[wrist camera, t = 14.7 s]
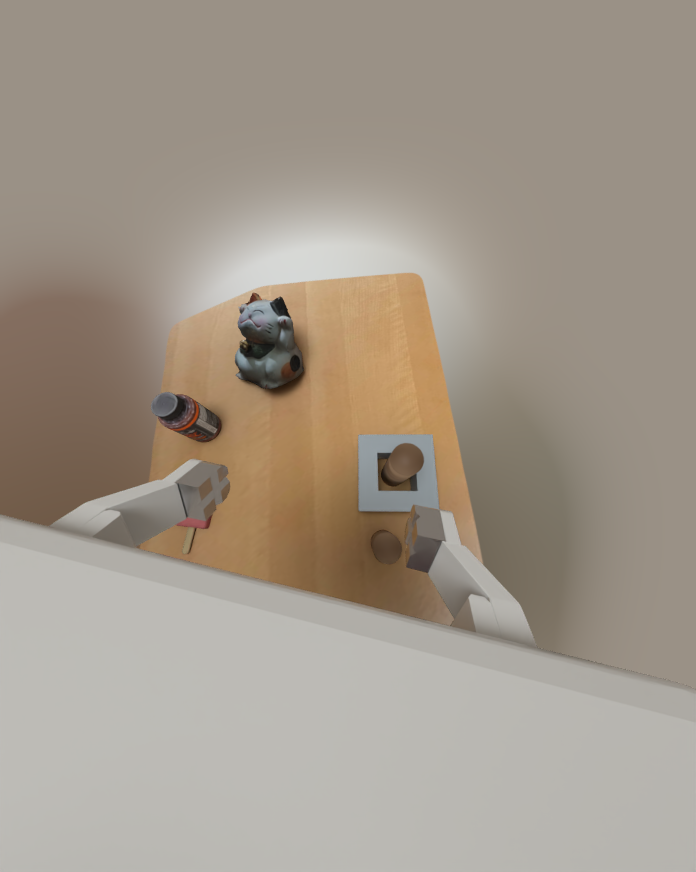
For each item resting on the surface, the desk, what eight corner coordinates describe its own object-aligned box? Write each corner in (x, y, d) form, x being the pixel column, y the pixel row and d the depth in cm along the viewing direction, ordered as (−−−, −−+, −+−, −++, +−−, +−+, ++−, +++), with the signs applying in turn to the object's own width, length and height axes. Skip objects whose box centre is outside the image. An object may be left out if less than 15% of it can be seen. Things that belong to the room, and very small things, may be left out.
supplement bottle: (189, 444, 47) (139, 424, 36) (193, 414, 49) (146, 387, 38) (221, 441, 47) (180, 421, 36) (223, 412, 49) (185, 384, 38)
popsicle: (166, 552, 41) (192, 462, 45) (173, 551, 42) (197, 463, 46) (197, 556, 40) (220, 464, 45) (203, 555, 42) (225, 466, 46)
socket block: (430, 511, 42) (439, 511, 37) (358, 511, 42) (358, 511, 38) (424, 442, 45) (432, 434, 41) (358, 442, 46) (358, 434, 41)
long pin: (404, 486, 43) (425, 475, 30) (381, 486, 43) (391, 475, 30) (403, 463, 44) (422, 443, 31) (380, 463, 45) (390, 443, 31)
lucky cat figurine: (226, 371, 51) (198, 296, 42) (274, 351, 58) (259, 282, 48) (270, 400, 44) (248, 318, 34) (319, 374, 51) (313, 299, 41)
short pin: (396, 556, 40) (402, 564, 34) (371, 556, 40) (373, 563, 35) (395, 530, 41) (400, 533, 36) (370, 530, 42) (372, 533, 36)
